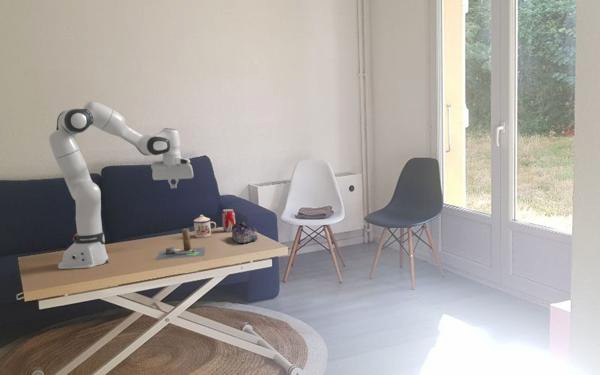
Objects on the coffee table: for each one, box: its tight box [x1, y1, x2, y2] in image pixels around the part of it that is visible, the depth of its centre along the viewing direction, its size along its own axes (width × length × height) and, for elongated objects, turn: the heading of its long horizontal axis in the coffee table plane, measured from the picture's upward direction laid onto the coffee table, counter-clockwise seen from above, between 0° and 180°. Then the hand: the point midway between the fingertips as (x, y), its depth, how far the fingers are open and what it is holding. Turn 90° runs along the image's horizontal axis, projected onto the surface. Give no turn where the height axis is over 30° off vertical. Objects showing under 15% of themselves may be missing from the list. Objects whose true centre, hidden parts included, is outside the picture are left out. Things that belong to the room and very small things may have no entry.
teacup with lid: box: [193, 214, 217, 239], centre depth 315 cm, size 12×9×12 cm
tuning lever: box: [165, 228, 196, 254], centre depth 272 cm, size 15×4×11 cm, turn 72°
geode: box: [231, 220, 258, 245], centre depth 300 cm, size 20×12×10 cm, turn 27°
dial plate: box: [155, 246, 206, 261], centre depth 273 cm, size 22×17×2 cm
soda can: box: [221, 208, 236, 233], centre depth 324 cm, size 7×7×12 cm
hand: (173, 188), depth 292 cm, fingers closed
